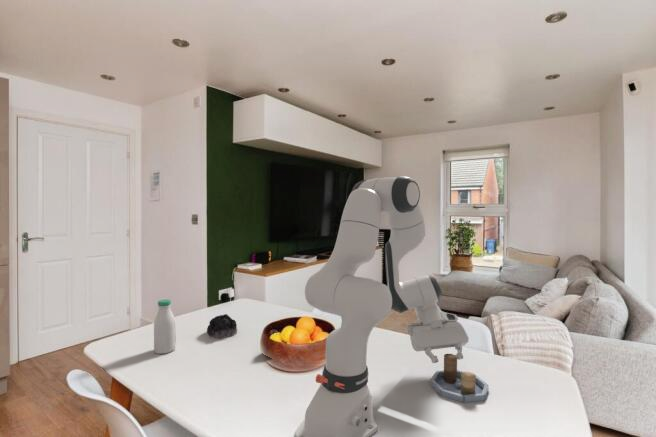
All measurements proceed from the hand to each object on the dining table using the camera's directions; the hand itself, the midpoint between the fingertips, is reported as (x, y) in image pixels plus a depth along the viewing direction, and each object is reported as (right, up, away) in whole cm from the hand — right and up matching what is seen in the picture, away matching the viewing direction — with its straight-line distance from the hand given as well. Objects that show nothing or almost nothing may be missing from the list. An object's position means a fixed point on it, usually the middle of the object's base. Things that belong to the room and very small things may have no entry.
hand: (448, 360), depth 113 cm
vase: (-61, -6, +22) cm, 65 cm away
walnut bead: (0, -6, -1) cm, 6 cm away
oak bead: (+3, -6, -9) cm, 12 cm away
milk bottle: (-104, -6, +24) cm, 107 cm away
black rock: (-87, -6, +43) cm, 97 cm away
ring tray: (+1, -7, -5) cm, 9 cm away
